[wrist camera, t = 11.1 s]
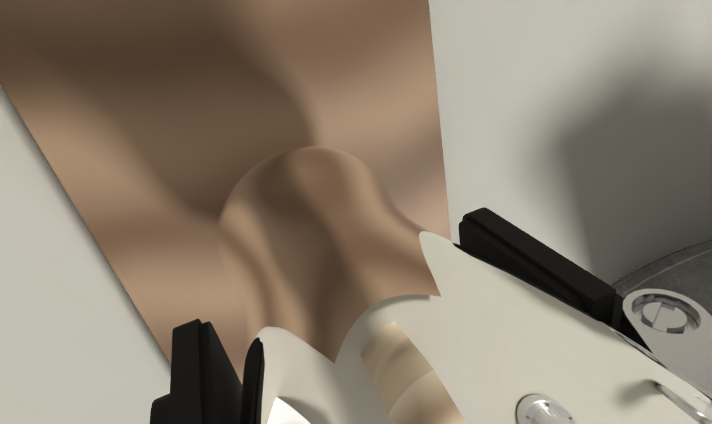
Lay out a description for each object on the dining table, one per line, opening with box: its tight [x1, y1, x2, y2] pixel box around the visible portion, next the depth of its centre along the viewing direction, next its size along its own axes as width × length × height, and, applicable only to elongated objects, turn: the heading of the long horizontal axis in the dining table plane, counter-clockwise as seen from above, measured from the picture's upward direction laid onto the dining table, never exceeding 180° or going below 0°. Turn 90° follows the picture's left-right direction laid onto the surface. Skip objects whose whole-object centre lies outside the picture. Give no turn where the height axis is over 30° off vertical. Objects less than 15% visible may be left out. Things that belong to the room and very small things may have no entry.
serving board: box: [0, 0, 451, 384], centre depth 17 cm, size 18×14×2 cm
